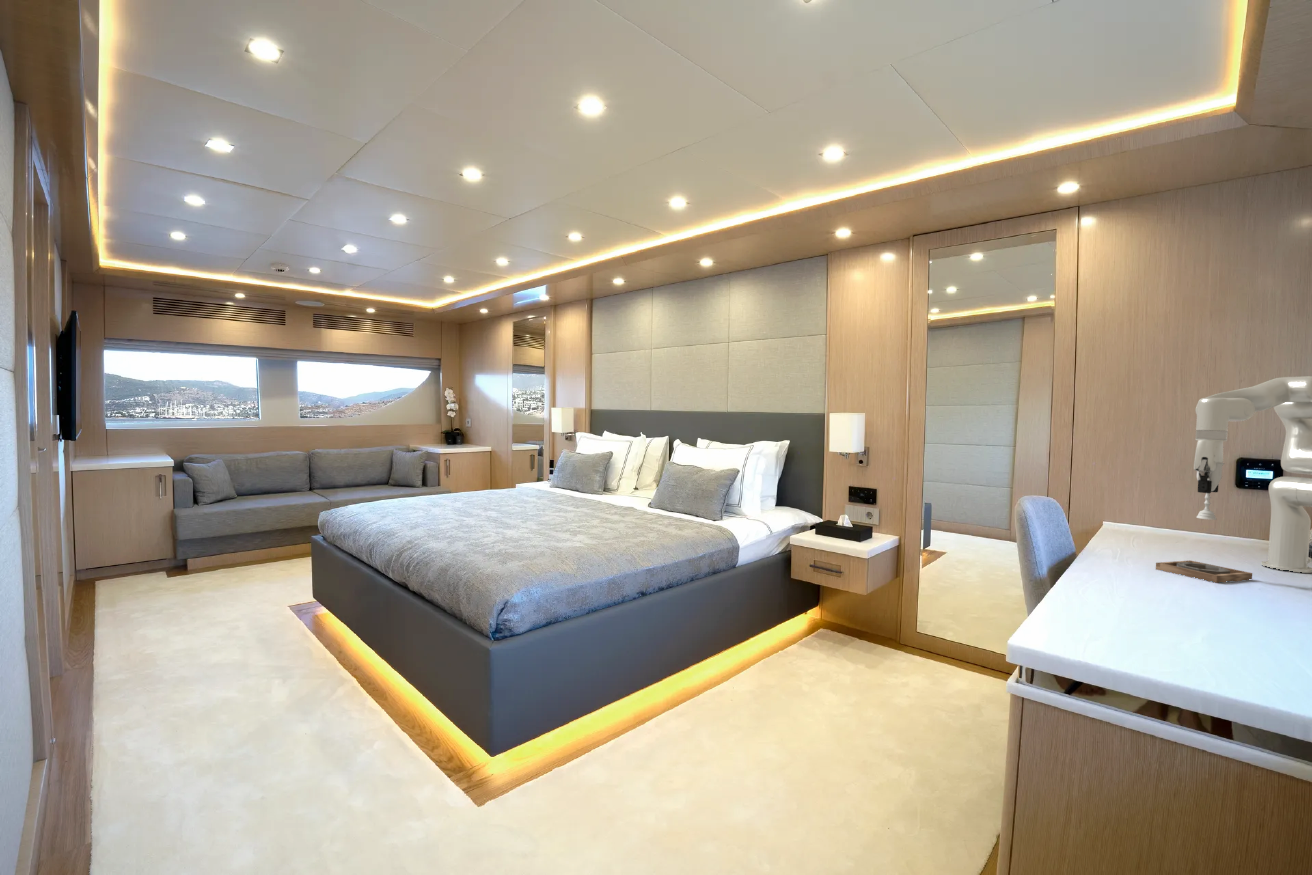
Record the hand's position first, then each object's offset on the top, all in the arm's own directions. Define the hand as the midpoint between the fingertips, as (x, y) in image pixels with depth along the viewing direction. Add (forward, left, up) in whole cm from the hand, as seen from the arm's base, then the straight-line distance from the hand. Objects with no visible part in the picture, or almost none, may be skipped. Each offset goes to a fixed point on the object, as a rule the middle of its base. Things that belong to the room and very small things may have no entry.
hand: (1207, 491), depth 196 cm
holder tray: (0, 0, -27) cm, 27 cm away
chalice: (0, 0, -9) cm, 9 cm away
